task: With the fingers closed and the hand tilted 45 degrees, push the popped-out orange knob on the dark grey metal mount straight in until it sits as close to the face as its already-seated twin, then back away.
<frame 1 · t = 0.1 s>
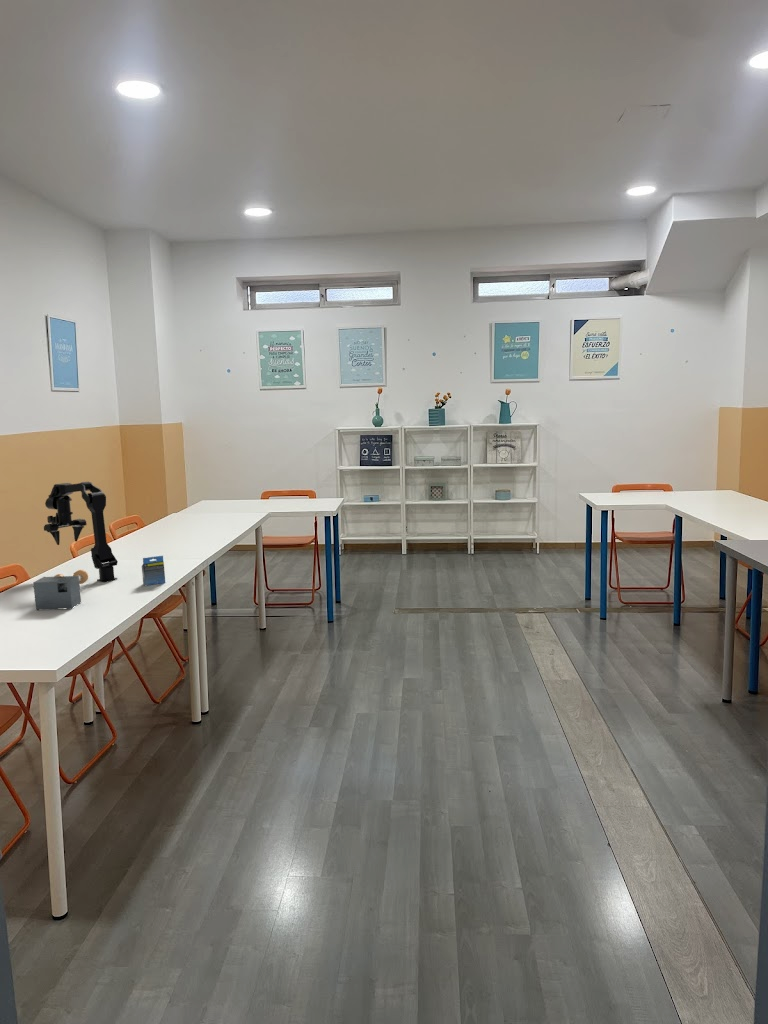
hand: (67, 543, 351), 15 cm above the table, tool pointing down, fingers open, 9 cm apart
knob: (73, 580, 300), point 8 cm above the table, slide at 0.0 cm
mount: (69, 606, 295), on the table
label tape cartridge: (154, 584, 328), on the table
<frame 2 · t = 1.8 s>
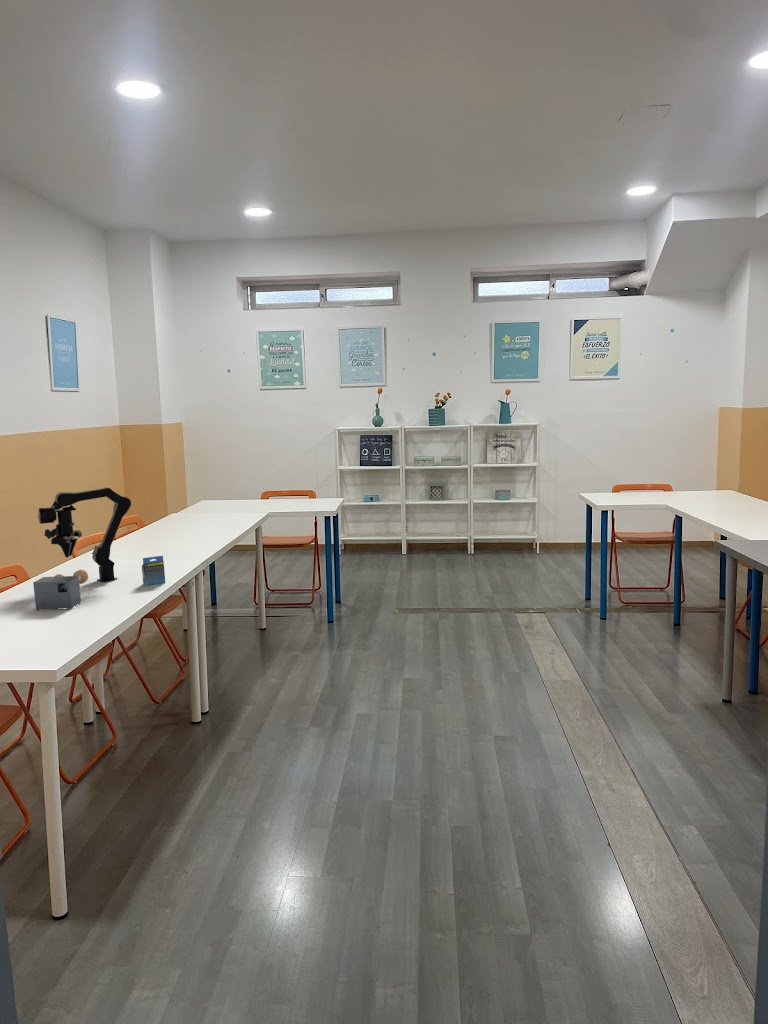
hand: (68, 556, 327), 13 cm above the table, tool pointing down, fingers open, 3 cm apart
nothing on the table moved.
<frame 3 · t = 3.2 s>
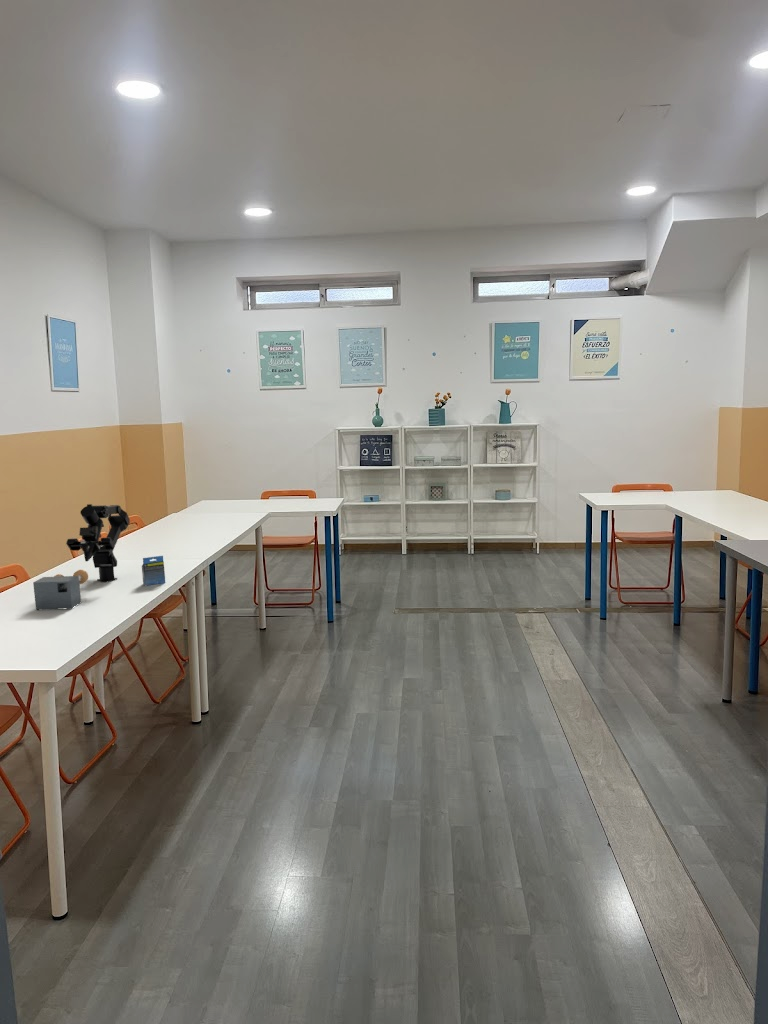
hand: (86, 560, 315), 13 cm above the table, tool tilted 45°, fingers closed
nothing on the table moved.
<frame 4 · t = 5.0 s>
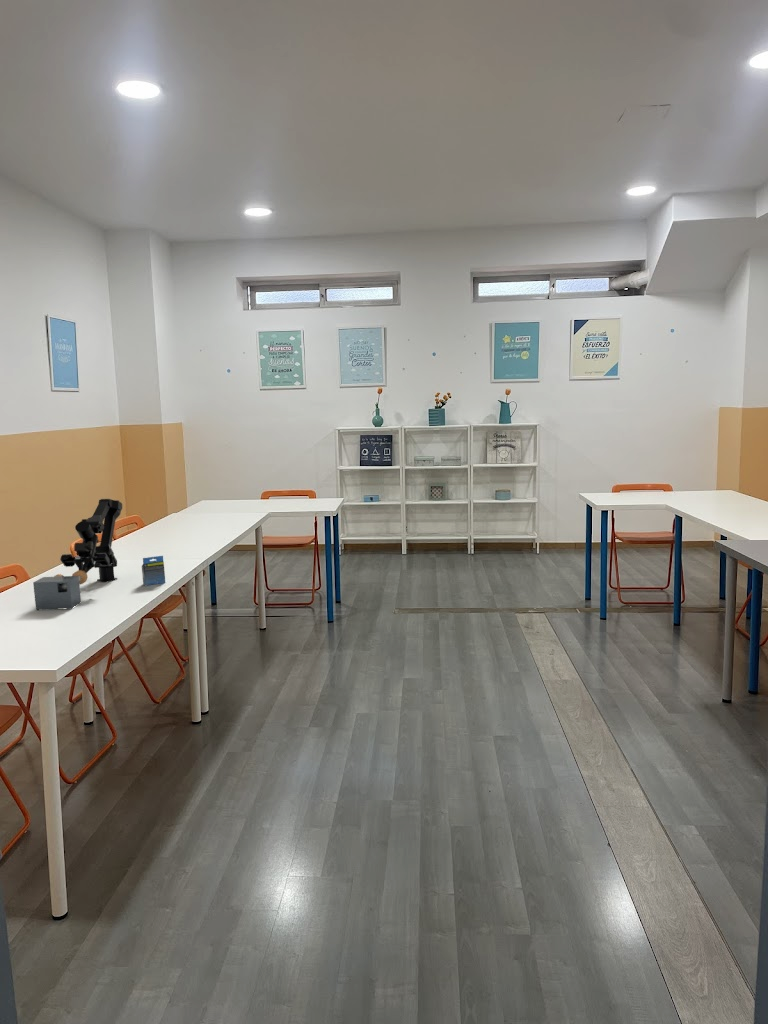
hand: (81, 577, 308), 8 cm above the table, tool tilted 45°, fingers closed, pressing on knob
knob: (73, 581, 300), point 8 cm above the table, slide at 0.8 cm, touching gripper
everything else where it was.
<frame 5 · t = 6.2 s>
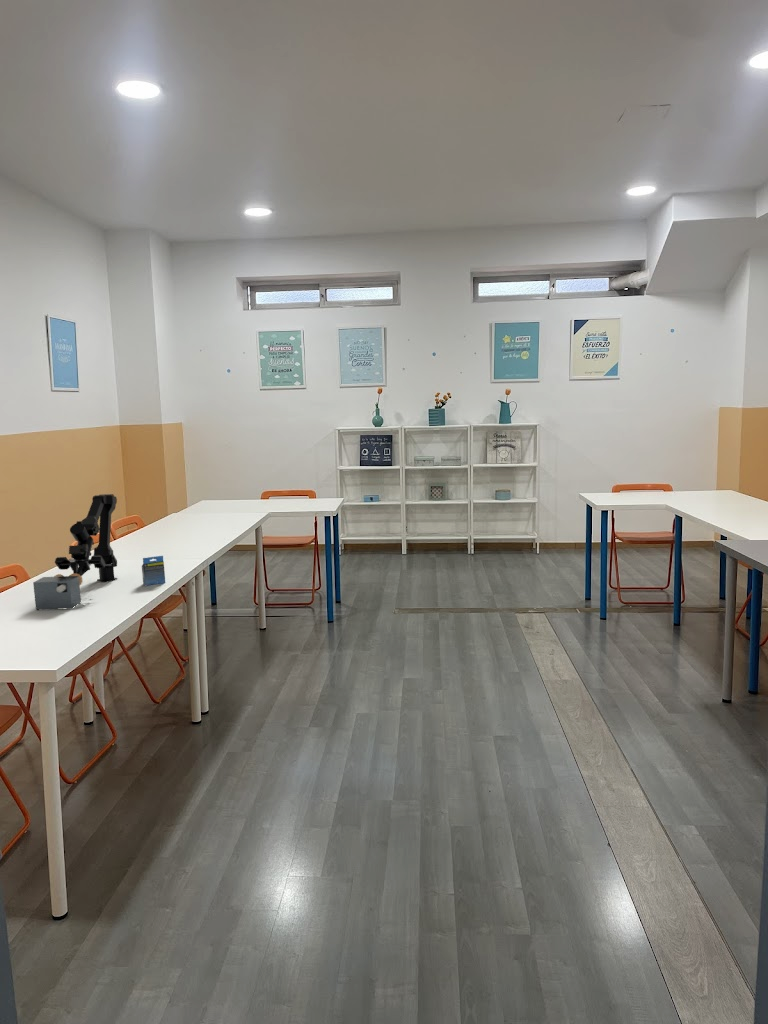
hand: (75, 580, 302), 8 cm above the table, tool tilted 45°, fingers closed, pressing on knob
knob: (67, 584, 294), point 8 cm above the table, slide at 6.2 cm, touching gripper
everything else where it was.
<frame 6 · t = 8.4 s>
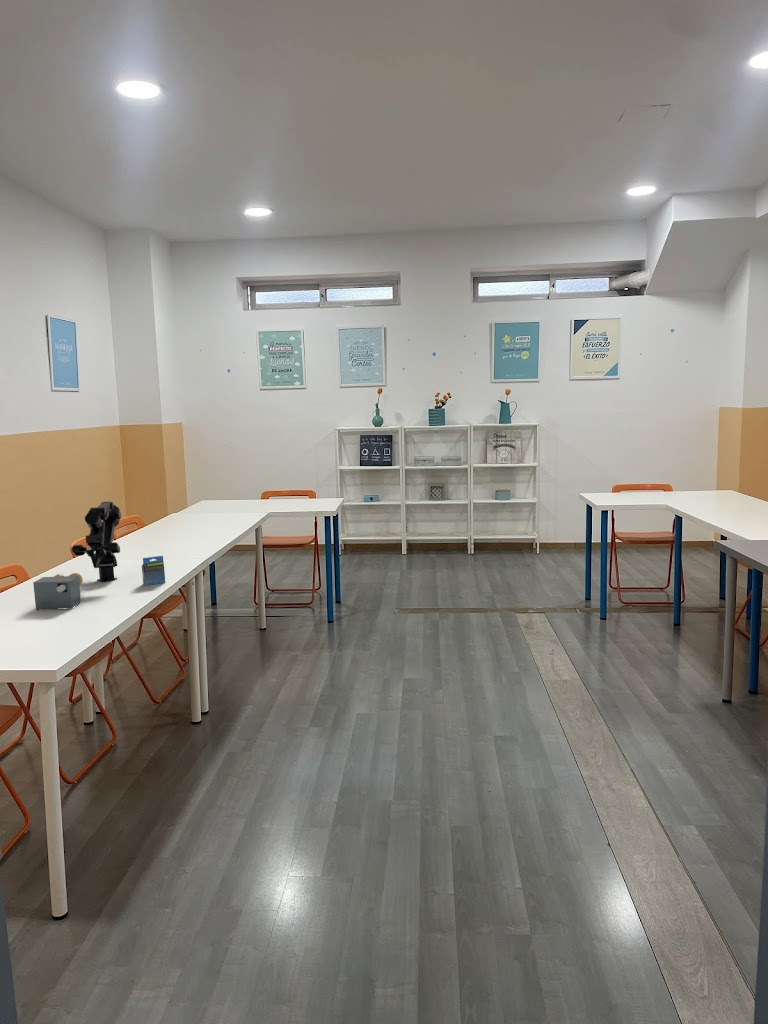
hand: (95, 567, 316), 10 cm above the table, tool tilted 35°, fingers closed
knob: (67, 584, 294), point 8 cm above the table, slide at 6.0 cm
everything else where it was.
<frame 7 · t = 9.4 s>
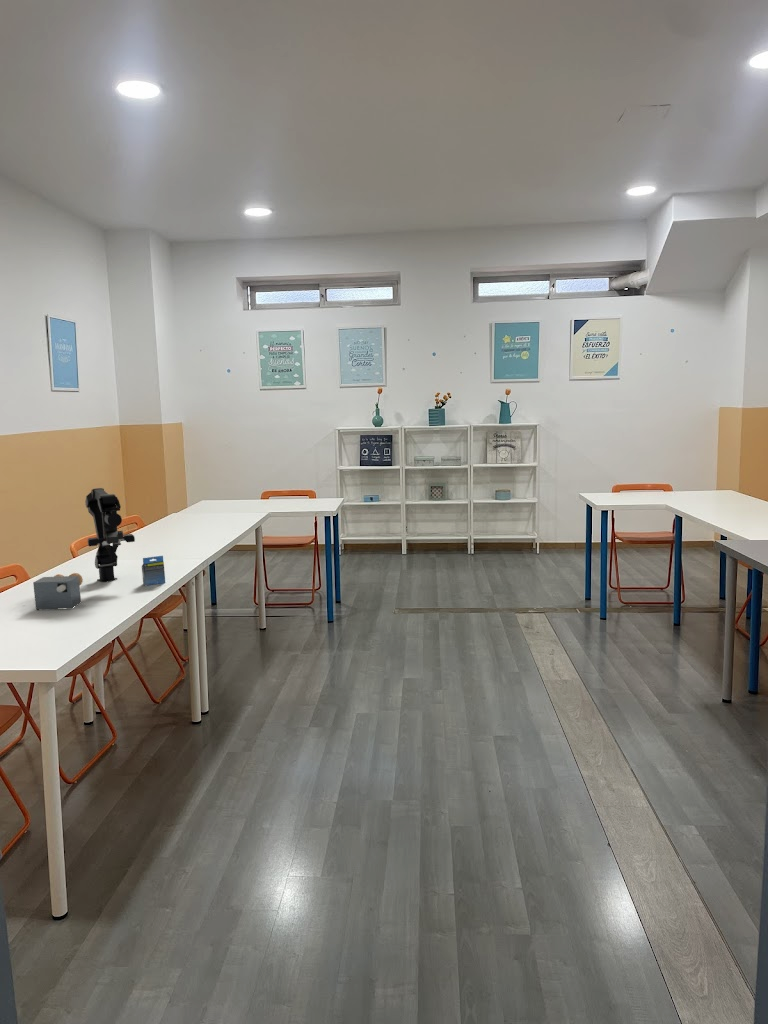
hand: (112, 559, 322), 12 cm above the table, tool pointing down, fingers closed
nothing on the table moved.
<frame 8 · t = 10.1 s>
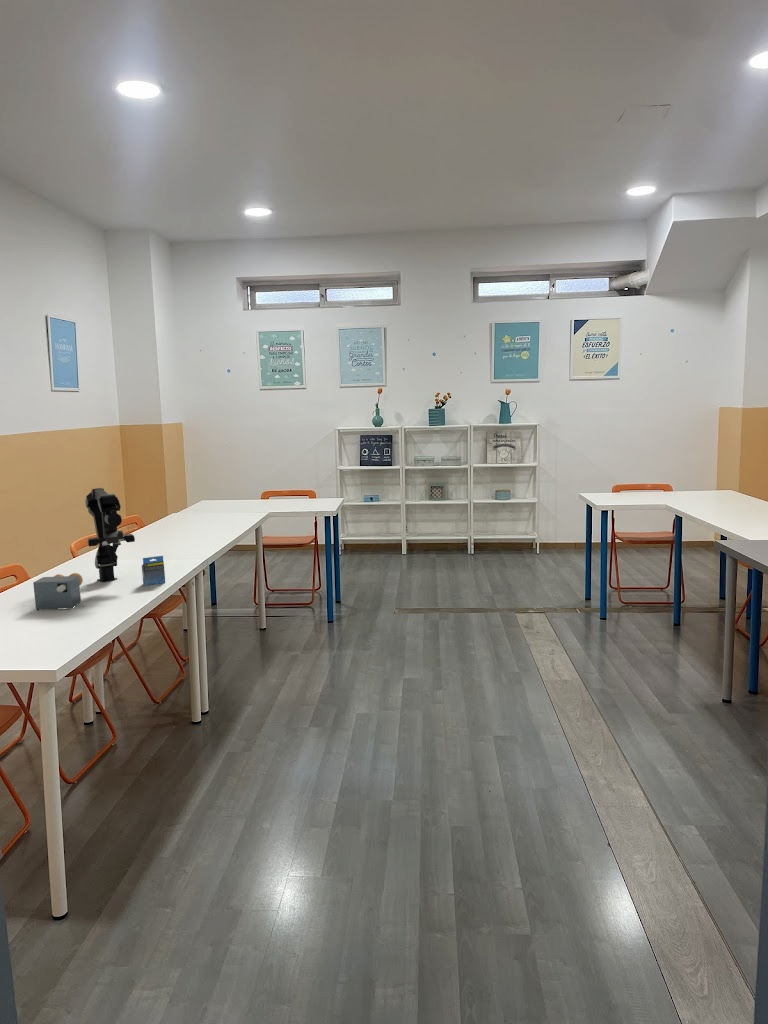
hand: (112, 559, 322), 12 cm above the table, tool pointing down, fingers closed
nothing on the table moved.
at the end: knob slide at 6.0 cm; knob moved 6.0 cm from its start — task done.
